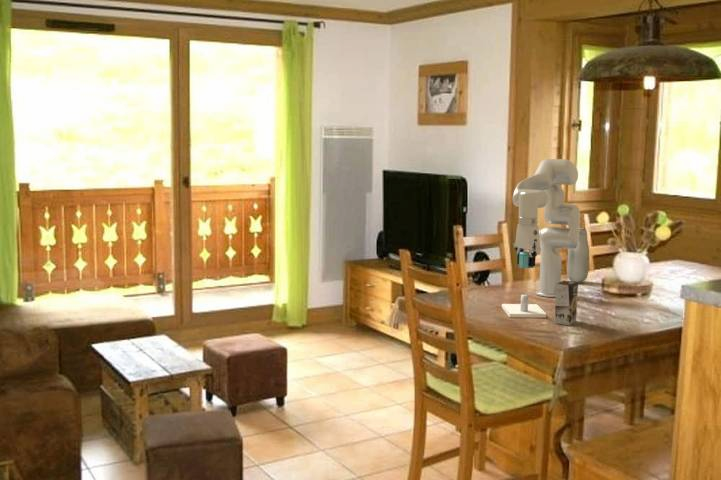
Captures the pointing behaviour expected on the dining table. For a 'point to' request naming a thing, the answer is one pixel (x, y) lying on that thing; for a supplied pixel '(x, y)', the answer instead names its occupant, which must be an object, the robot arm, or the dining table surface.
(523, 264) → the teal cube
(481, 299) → the dining table surface
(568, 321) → the coffee box
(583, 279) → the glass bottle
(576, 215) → the robot arm
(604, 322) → the dining table surface
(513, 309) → the mount
